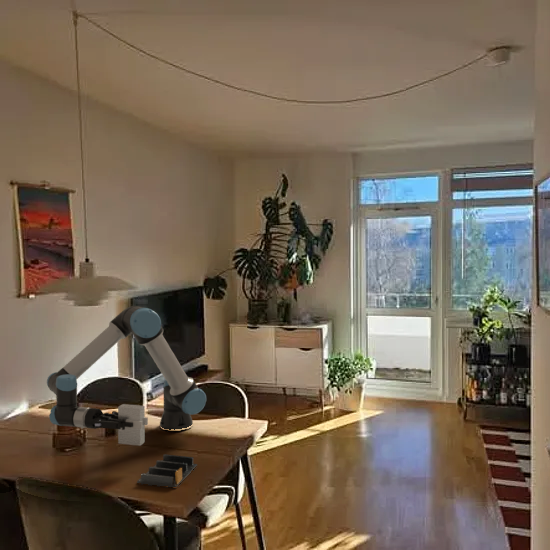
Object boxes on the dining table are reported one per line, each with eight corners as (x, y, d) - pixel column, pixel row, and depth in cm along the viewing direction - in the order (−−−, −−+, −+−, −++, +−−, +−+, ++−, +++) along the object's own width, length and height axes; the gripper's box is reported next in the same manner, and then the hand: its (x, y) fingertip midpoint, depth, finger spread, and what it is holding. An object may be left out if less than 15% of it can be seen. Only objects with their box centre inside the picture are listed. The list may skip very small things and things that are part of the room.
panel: (123, 440, 201) (122, 404, 200) (144, 442, 199) (144, 405, 198) (118, 443, 198) (118, 406, 197) (140, 445, 196) (140, 408, 195)
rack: (160, 462, 205) (160, 450, 204) (196, 466, 201) (197, 453, 201) (137, 483, 186) (137, 469, 186) (176, 488, 183) (176, 474, 182)
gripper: (101, 420, 210) (154, 425, 205) (76, 434, 194) (133, 440, 189) (100, 402, 210) (154, 406, 205) (75, 414, 194) (133, 420, 188)
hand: (144, 423), depth 197 cm, fingers closed on panel, 3 cm apart
